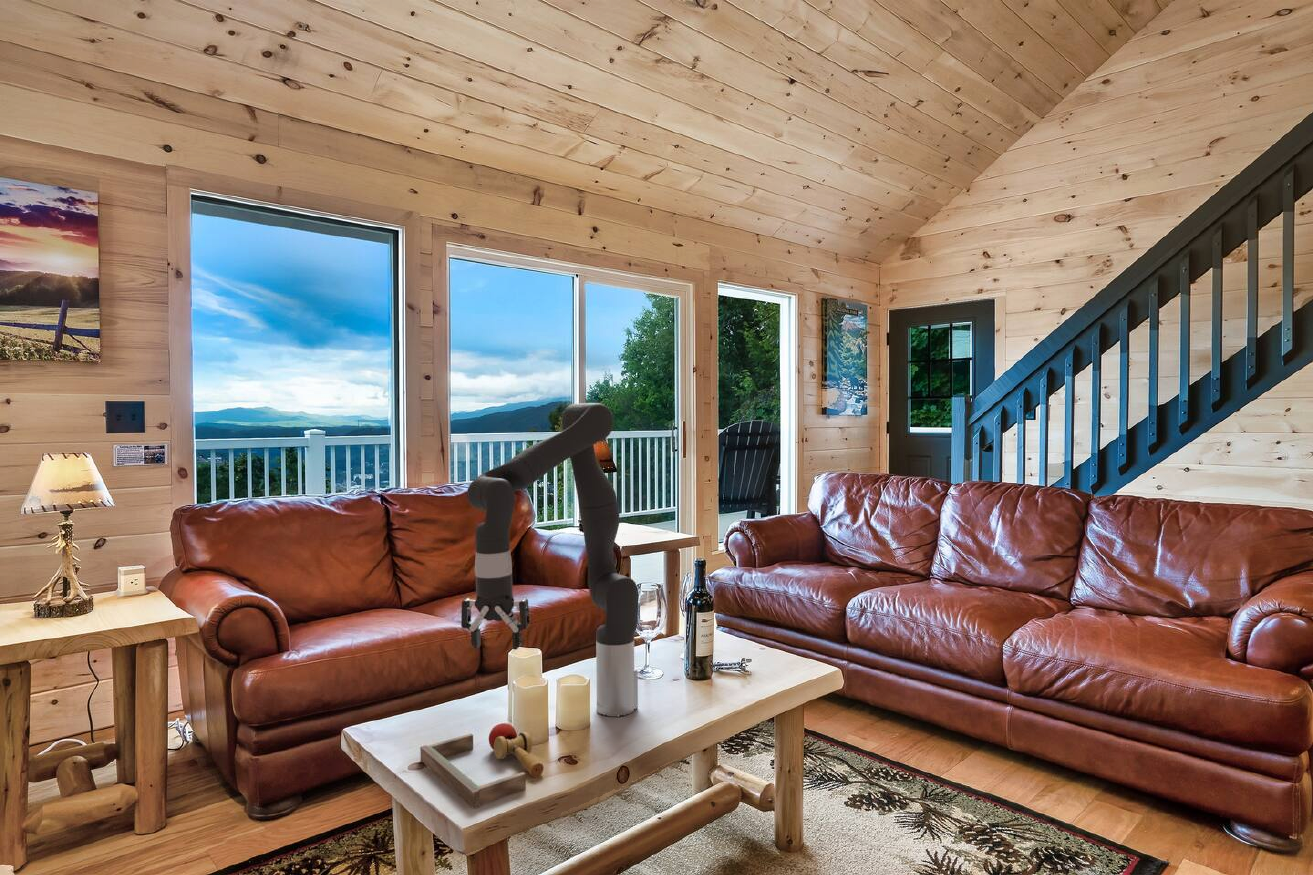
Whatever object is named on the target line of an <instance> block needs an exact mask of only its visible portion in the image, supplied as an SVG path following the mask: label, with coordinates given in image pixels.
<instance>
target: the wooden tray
mask: <svg viewBox="0 0 1313 875" xmlns="http://www.w3.org/2000/svg"><path fill="white" fill-rule="evenodd" d="M419 749H420V762H421V761H422V762H424V764H423V765H424V766H426V767H427V766H428V767H429V768H430V769H431V770H432V771H431V770H430V769H429V768H428V767H427V768H428V769H429V770H430V771H431V772H434V773H433V774H434V775H436V776H437V777H438V779H440V778H441V779H442V780H443V781H444V782H443V781H442V780H441V779H440V780H441V781H442V782H443V783H445V785H446V786H448V787H449V788H450V789H451V790H452V791H454V792H455V794H456V795H458V796H459V797H460V798H461V797H462V798H463V799H464V800H465V803H467V804H468V805H469V806H470V807H471V808H472V807H473V808H474V809H477V808H479V807H480V806H481V805H484V804H486V803H490V802H492V801H493V802H494V801H495V800H498V799H501V798H503V797H507V796H510V795H513V794H515V793H518V792H521V791H523V790H524V791H525V790H526V789H527V778H526V777H527V774H526V772H524V771H522V772H518V773H515V774H512V775H510V776H507V777H504V778H501V779H498V780H495V781H494V780H493V781H492V782H488V783H485V784H482V785H480V786H478V785H477V784H476V783H475V782H474V781H473V780H471V778H470V777H468V776H467V775H465V774H464V773H463V772H462V771H461V770H460V769H458V768H457V767H456V766H455V765H454V764H452V763H451V762H450V761H449V760H448V759H447V758H446V756H447V757H449V755H450V756H453V755H457V754H460V753H463V752H467V751H469V750H473V749H474V735H473V734H472V733H468V734H465V735H460V736H458V737H453V738H450V739H447V740H443V741H440V742H435V743H433V744H429V745H426V744H425V745H423V746H420V748H419ZM422 762H421V763H422ZM462 798H461V799H462ZM463 799H462V800H463ZM464 800H463V801H464ZM476 807H477V808H476ZM473 808H472V809H473Z"/></svg>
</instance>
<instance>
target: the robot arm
mask: <svg viewBox="0 0 1313 875" xmlns="http://www.w3.org/2000/svg"><path fill="white" fill-rule="evenodd" d="M614 422H615V421H614V415H613V412H612V411H611V409H610V408H609V407H608V406H607V405H605V404H602V403H599V402H598V403H597V402H584V403H583V402H581V403H571V404H570V405H567V407H566V408H565V410H564V411H563V413H562V418H561V426H562V427H561V428H562V431H560V432H558V433H557V434H555V435H553V436H550V437H547V438H545V439H542V440H541V441H537V442H536V443H534V444H532V445H530V446H528V447H526V448H525V449H524V450H522V451H521V452H519V453H518V454H517V455H515V456H514V457H512V458H511V459H510V460H508V461H507V462H505V463H503V464H501V465H498V466H496V467H494V468H492V469H490V470H487V471H485V472H484V473H482V474H480V475H478V476H477V477H476V478H475V479H473V480H472V482H471V483H470V484H469V485H468V487H467V489H466V490H467V491H466V500H467V502H468V504H469V505H470V506H471V507H473V509H476V510H479V511H485V518H484V522H481V523H479V524H478V525H477V526H476V528H475V530H474V531H475V532H474V535H475V536H474V538H475V540H474V541H475V542H474V543H475V560H474V574H475V592H476V594H475V596H476V598H475V599H472V598H471V597H467V598H465V599H464V600H462V602H461V619H460V621H461V622H460V623H461V624H460V626H461V629H467V630H469V631H470V643H471V646H472V647H473V649H477V650H478V649H479V648H480V647H481V644H482V642H481V638H482V636H481V629H480V626H481V625H482V623H483V622H484V621H485V620H486V621H487V622H492V621H496V622H502V621H504V623H505V624H506V626H508V627H510V629H511V630H512V631H513V632H511V633H512V649H513V650H514V651H515V650H518V649H519V648H520V646H521V645H522V643H523V641H522V640H523V638H522V635H523V634H522V631H523V630H526V629H527V628H528V627H530V625H531V619H530V609H529V600H528V598H526V597H525V598H523V599H518V600H515V599H514V596H513V594H514V593H513V589H514V588H513V569H512V568H513V566H512V555H511V546H510V545H511V544H510V541H511V540H510V539H511V538H510V528H511V525H512V520H513V515H514V509H515V505H516V493H515V492H516V491H523V490H525V489H527V488H528V487H530V486H532V485H533V484H534V483H535V482H537V481H538V480H539V479H540V478H543V477H544V476H545V475H546V474H548V473H549V472H550V471H552V470H553V469H555V468H556V467H557V466H559V465H560V464H561V463H563V462H565V461H566V460H568V459H570V460H569V461H570V464H571V467H572V473H573V474H572V475H573V479H574V483H575V490H576V494H577V503H578V510H579V516H580V520H581V521H580V522H581V525H582V532H583V538H584V545H585V551H586V552H585V553H586V558H587V573H588V574H587V575H588V576H587V577H588V588H589V589H588V590H589V596H590V600H591V601H592V603H593V604H594V605H595V606H596V607H597V608H599V609H601V610H604V611H605V624H603V625H602V624H601V625H600V626H598V628H596V634H595V642H596V644H595V648H596V651H595V652H596V655H595V656H596V664H595V665H596V667H595V669H596V711H597V713H599V714H600V715H602V714H603V716H605V715H607V717H619V716H618V715H624V716H626V715H625V714H628V715H630V714H632V713H633V712H634V711H635V710H636V708H637V709H638V708H639V685H638V684H639V680H638V679H639V676H638V675H639V674H638V671H639V670H638V669H637V668H635V633H636V631H637V628H638V620H639V617H638V616H639V589H638V585H637V583H636V582H635V581H634V579H632V578H631V577H628V576H625V575H623V574H619V573H618V571H617V567H616V562H615V556H614V544H615V541H616V539H617V538H616V537H617V534H618V530H619V528H620V527H619V526H620V511H619V505H618V498H617V493H616V491H615V489H614V487H613V484H612V483H611V481H610V480H609V477H608V476H607V475H606V473H605V472H604V470H603V468H602V467H601V465H600V463H599V461H598V459H597V455H596V452H595V446H594V445H595V444H598V443H600V442H601V441H604V440H605V439H606V438H608V436H610V434H611V432H612V430H613V428H614ZM474 607H475V608H476V610H477V611H478V612H479V613H478V615H477V616H476V617H475V619H474V621H472V610H473V609H474ZM514 607H515V608H516V610H517V611H518V612H519V619H518V618H517V615H516V614H515V612H514V611H513V608H514ZM634 709H635V710H634Z"/></svg>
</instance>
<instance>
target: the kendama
mask: <svg viewBox="0 0 1313 875" xmlns="http://www.w3.org/2000/svg"><path fill="white" fill-rule="evenodd" d="M488 744H489V746H490V748H491V749H492V750H493V752H494V756H495V757H496V759H498V760H502V759H504V758H506V757H507V755H508V754H513V753H514V755H515V757H516V758H517V760H518V761H519V762H520V764H521V765H522V766H523V767H524V768H525V769H526V771H527V772H528V774H529V775H530V776H531V777H532V778H537V777H539V776H542V774H543V773H544V769H545V768H544V764H543V763H542V762H540V761H538V760H537V759H536V758H535V757H534V756H533V755H531V752H532V749H533V741H532V737H531V734H530V733H529V732H527V731H524V732H523V731H522V732H520V733H519V734H517V730H516V728H514V726H513V725H512V724H510V723H506V722H504V723H501V722H500V723H498V724H497V725H494V727H492V729H491V730H490V732H489V735H488Z"/></svg>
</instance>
